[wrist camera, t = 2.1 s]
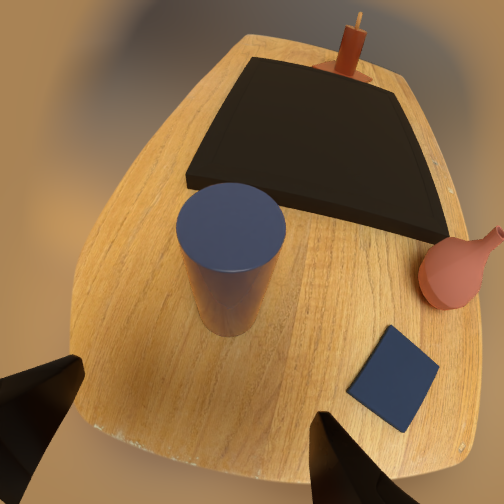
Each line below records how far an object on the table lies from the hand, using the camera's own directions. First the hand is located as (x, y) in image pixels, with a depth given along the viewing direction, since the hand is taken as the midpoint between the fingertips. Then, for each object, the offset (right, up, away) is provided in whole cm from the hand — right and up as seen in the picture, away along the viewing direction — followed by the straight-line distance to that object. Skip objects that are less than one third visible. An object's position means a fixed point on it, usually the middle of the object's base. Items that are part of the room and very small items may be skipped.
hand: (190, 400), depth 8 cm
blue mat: (+16, -7, +13) cm, 22 cm away
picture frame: (+14, +26, +32) cm, 44 cm away
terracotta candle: (+25, +50, +46) cm, 72 cm away
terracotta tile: (+25, +50, +46) cm, 72 cm away
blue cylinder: (0, 0, +16) cm, 16 cm away
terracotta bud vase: (+23, +1, +19) cm, 30 cm away
